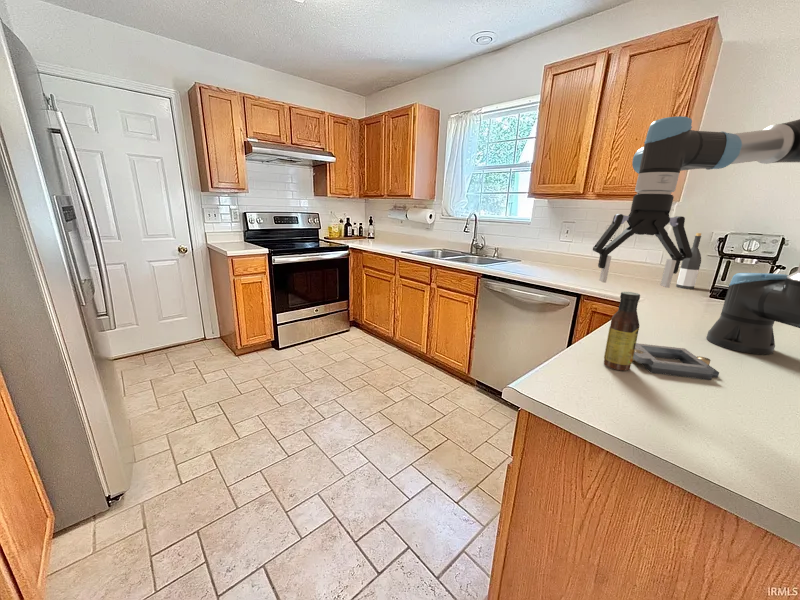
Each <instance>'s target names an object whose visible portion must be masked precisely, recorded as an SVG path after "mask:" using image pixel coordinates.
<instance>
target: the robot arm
mask: <svg viewBox="0 0 800 600" xmlns="http://www.w3.org/2000/svg"><path fill="white" fill-rule="evenodd" d="M692 123H693V120H692V118H691V117H688V116H682V115H679V116H668V117H663V118H659V119H656V120H654V121H653V122H651V124H650V125H649V127H648V130H647V133H646V137H645V140H644V142H643V143H644V146H642V147H640V148H639V149H638V150H637V151H636V152H635V153H634V155H633V157H632V168H633V170H634V172H635V173H636V174H638V176H637V180H636V183H635V189H634V192H636V194H634V195H633V198H632V202H631V207H630V212H629V214H628V215H626V214H625V215H624V214H622V213H616V214H614V216H613V218H612V220H611V223H610V225H609V226H608V227H607V229H606V230H605V232H604V233H603V234H602V235H601V237H600V238H599V239H598V241H596V243H595V245H594V246H593V247H592V251H593V252H596V253H598V254H599V259H598V263H597V266H598V268H599V269H601V270H600V275H599V279H598V281H600V282H601V283H605V284H606V283H607V279H608V275H609V271H610V265H611V260H612V255H609V254H611V253H612V252H613V251H614V250H615V249H617V248H618V247H619V246H621V245H622V243H624V242H625V241H626V240H628V239H629V238H630V237H632V236H633V235H638V236H639V235H641V236H643V235H647V236H655V237H656V238H657V239H658V240H659V242H660V243H661V244H662V246H663V248H664V249H665V251H666V252H667V254H668V255H669V256H670V258H666V262H665V266H664V267H663V269H664V270H663V273H662V277H661V281H660V286H662V287H664V288H666V289H667V288H668V289H669V288H670V287H671V283H672V278H673V275H675V274H677V273H679V270H680V266H681V262H682V260H684V259H685V258H691V257H692V252H691V248H692V247H691V245H690V242H689V239H688V235H687V232H686V230H685V221H686V217H684V216H681V215H680V216H678V215H676V216H672V217H670V213H671V210H672V206H673V202H674V197H675V196H674V195H673V194H672V193H674V192H676V188H677V185H678V181H679V176H680V172H682V171H689V170H701V169H705V170H720V169H724V168H726V167H728V166H730V165H735V164H743V163H751V162H758V163H760V164H764V165H765V164H766V165H767V164H774V163H777V164H779V163H800V119H796V120H792V121H788V122H783V123H775V124H771V125H769V126H767V127H765V128H764V129H761V130H754V131H753V130H752V131H751V130H750V131H744V132H737V133H733V132H732V133H731V132H726V131H707V130H706V131H705V130H693V129H692V128H693V126H692ZM625 222H626V223H627V224H628V226H627V227H626V228H625V229H624V230H623V231H622V232H621V233H619V235H617V236H616V237H614V239H613V240H612V241H610V239H612V237H613V235H615V233H616V232H617V231H618V230H619V228H620V227H621V225H623V224H624V223H625ZM669 224H670V227H672V231H673V235H674V239H675V241H676V244H677V245H675V243H674V241H673V240H672V239H671V238H670V235H669V233H668V231H667V230H666V228H665V227H666V226H667V225H669ZM609 241H610V242H609ZM608 242H609V243H608ZM607 243H608V244H607ZM723 302H724V303H723V306H722V309H721V312H720V316H719V318H718V319H717V320H716V322H715V323H714V324H713V325H712V326H711V328H710V329H709V330H708V331H707V334H706V336H705V337H706V340H707V341H708V342H710V343H712V344H714V345H717V346H719V347H722V348H725V349H729V350H732V351H737V352H742V353H746V354H747V353H748V354H755V355H772V354H774V350H775V347H776V343H775V336H774V334H775V333H774V324H775V322H776V323H780V324H784V325H787V326H790V327H794V328H798V329H800V263H799V264H798V267H797V270H796V271H794V272H793V273H791V274H786V273H785V274H784V273H766V272H737V273H735V274H734V275H733V276H732V278H731V280H730V282H729V284H728V289H727V291H726V296H725V298H724V301H723Z"/></svg>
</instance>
